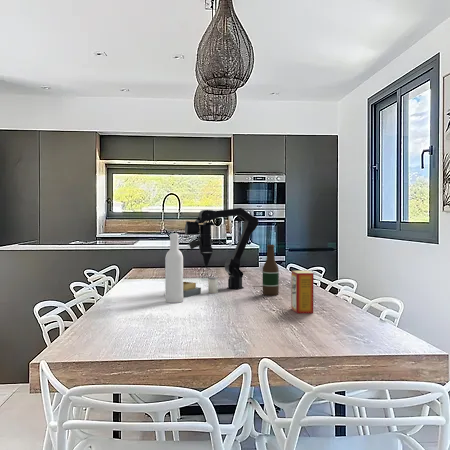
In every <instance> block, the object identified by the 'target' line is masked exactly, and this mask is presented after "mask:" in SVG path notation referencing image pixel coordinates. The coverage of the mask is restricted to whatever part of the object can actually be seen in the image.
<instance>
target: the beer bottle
mask: <svg viewBox="0 0 450 450" xmlns="http://www.w3.org/2000/svg"><path fill="white" fill-rule="evenodd" d="M266 245H267V246H266V249H267V252H266V260H265V263H264V264H263V266H262V295H264V296H274V297H276V296H278V295H279V291H280V289H279V288H280V285H279V284H280V281H279V280H280V279H279V277H280V276H279V275H280V270H279V266H278V263H277V262H276V259H275V257H276V256H275V244H266Z"/></svg>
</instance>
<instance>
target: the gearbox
mask: <svg viewBox="0 0 450 450" xmlns="http://www.w3.org/2000/svg"><path fill="white" fill-rule="evenodd" d="M201 294H202V287H197V282H192V281H183V298H189V297H193V296H194V297H195V296H197V295H201Z"/></svg>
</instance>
